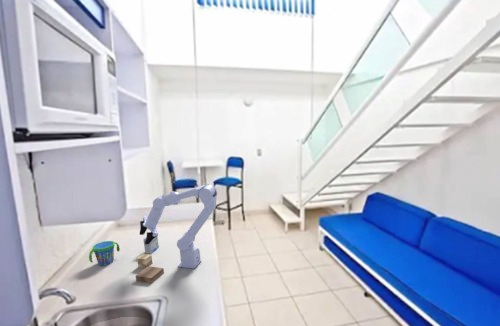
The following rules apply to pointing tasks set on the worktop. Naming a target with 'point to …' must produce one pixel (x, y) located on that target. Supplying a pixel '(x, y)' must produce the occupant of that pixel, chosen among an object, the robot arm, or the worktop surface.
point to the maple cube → (144, 260)
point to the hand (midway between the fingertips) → (144, 239)
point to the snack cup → (104, 252)
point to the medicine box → (151, 245)
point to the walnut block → (149, 274)
